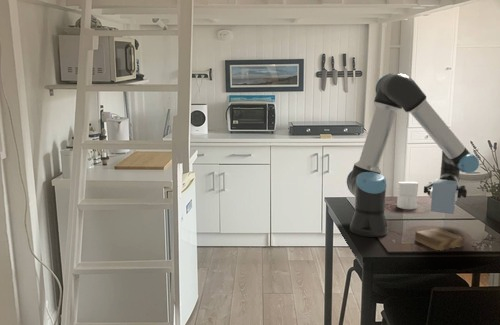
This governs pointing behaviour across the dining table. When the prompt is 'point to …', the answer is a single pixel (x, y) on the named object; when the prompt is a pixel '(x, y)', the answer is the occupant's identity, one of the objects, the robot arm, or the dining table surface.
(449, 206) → the slate block
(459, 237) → the walnut block
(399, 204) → the white cylinder
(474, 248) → the dining table surface
